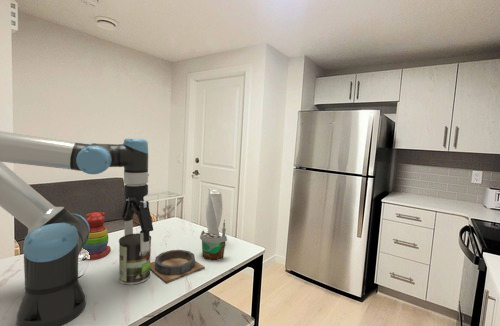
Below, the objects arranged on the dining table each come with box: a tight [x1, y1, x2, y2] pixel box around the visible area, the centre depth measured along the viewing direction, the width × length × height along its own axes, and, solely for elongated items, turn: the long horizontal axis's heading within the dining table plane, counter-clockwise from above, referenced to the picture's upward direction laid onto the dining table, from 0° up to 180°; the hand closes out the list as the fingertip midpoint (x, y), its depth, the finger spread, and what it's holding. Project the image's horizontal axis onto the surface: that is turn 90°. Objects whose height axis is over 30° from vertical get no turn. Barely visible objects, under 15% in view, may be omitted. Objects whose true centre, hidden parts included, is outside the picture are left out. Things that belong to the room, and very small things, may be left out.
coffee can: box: [118, 232, 152, 285], centre depth 92 cm, size 10×10×14 cm
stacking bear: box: [82, 211, 112, 261], centre depth 107 cm, size 11×10×18 cm
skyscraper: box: [205, 187, 226, 237], centre depth 121 cm, size 8×8×28 cm
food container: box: [199, 230, 228, 262], centre depth 110 cm, size 12×6×10 cm, turn 65°
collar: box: [154, 249, 196, 275], centre depth 100 cm, size 14×14×3 cm
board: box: [150, 258, 206, 284], centre depth 101 cm, size 16×16×1 cm
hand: (136, 244), depth 92 cm, fingers open, 13 cm apart
